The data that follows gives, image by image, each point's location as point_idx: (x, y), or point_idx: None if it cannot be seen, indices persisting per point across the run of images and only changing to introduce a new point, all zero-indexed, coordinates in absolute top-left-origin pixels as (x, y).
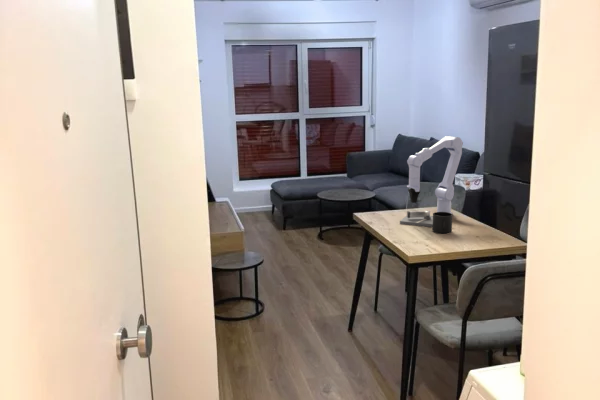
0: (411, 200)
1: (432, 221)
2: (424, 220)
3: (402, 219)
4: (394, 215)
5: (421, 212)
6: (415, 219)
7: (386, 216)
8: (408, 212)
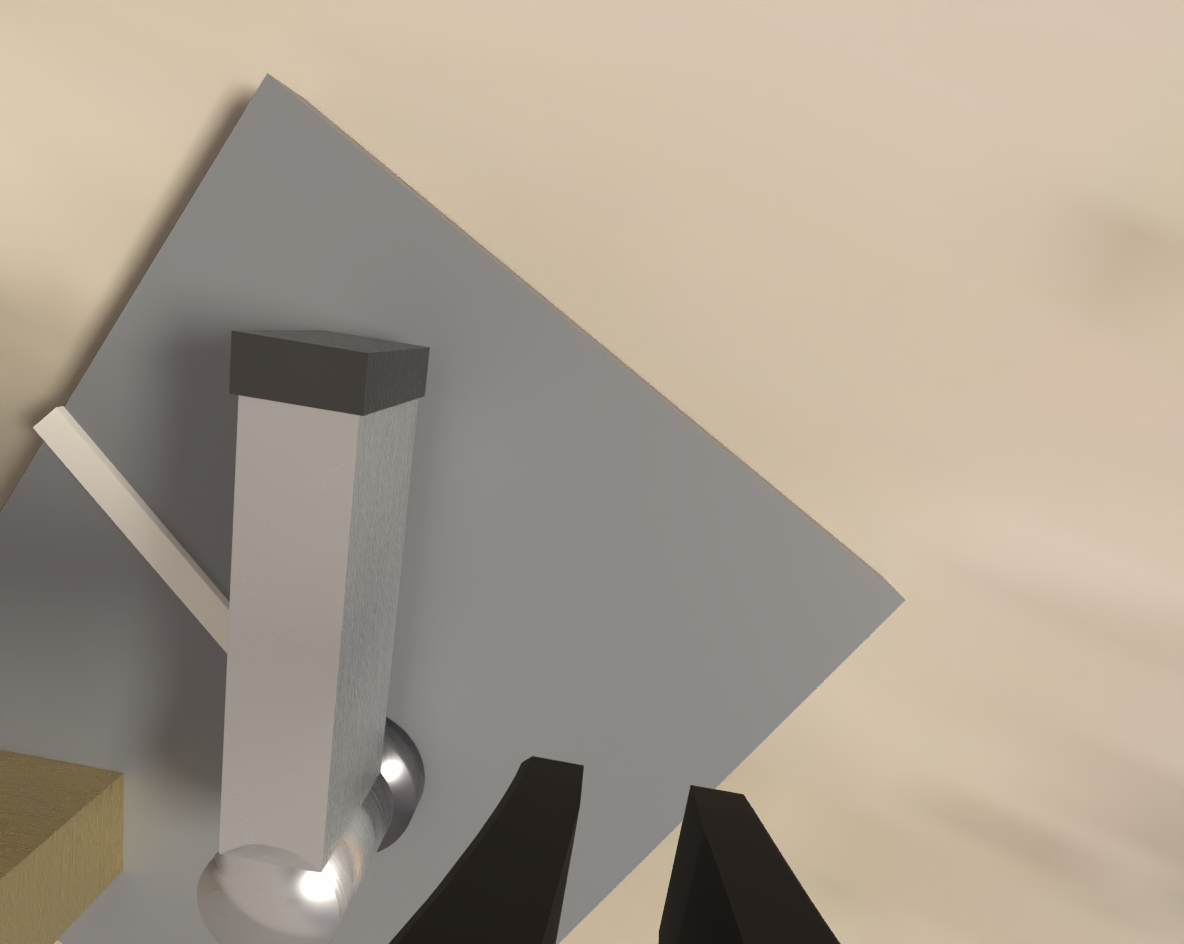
0: (696, 832)
1: (119, 761)
2: (219, 654)
3: (404, 206)
4: (1106, 286)
5: (236, 725)
6: None
7: (1100, 28)
8: (240, 343)
